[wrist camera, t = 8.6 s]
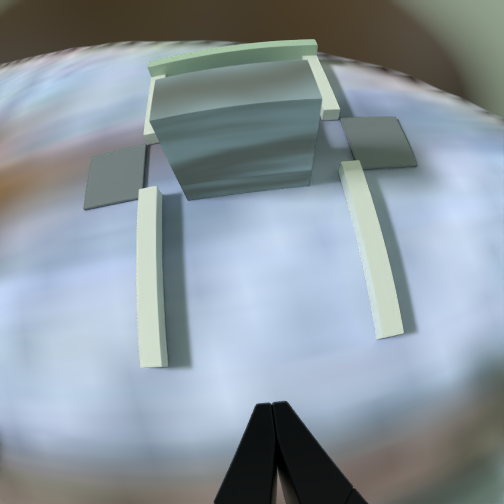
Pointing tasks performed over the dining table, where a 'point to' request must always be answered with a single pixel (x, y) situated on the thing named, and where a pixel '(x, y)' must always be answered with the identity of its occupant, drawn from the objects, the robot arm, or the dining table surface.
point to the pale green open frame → (349, 172)
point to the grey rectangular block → (238, 127)
